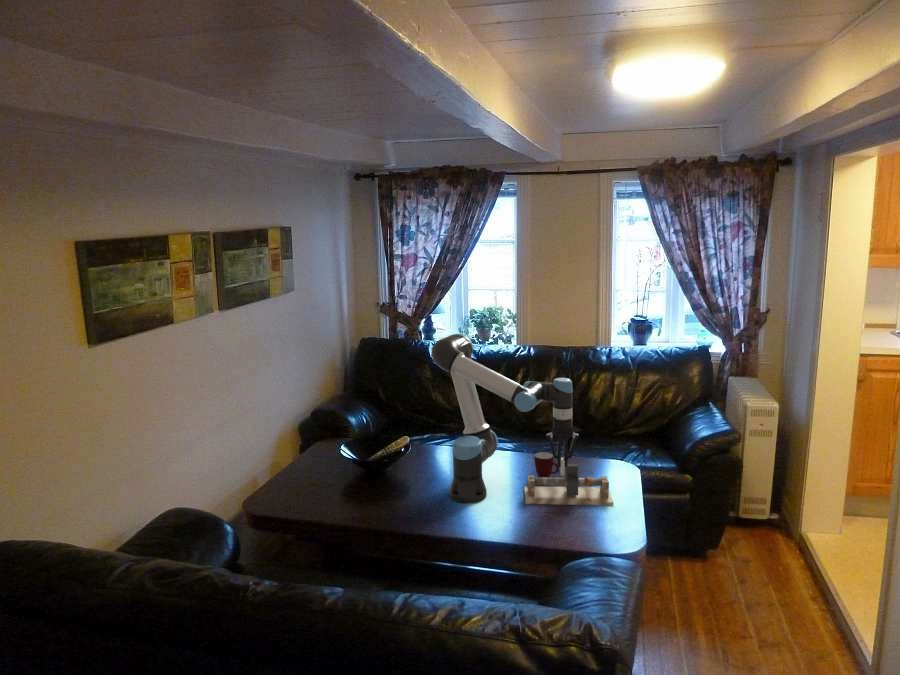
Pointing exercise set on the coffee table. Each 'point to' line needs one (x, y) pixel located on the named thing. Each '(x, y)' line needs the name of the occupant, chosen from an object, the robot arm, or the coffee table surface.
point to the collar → (572, 479)
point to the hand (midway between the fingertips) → (562, 474)
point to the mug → (545, 464)
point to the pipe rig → (560, 493)
